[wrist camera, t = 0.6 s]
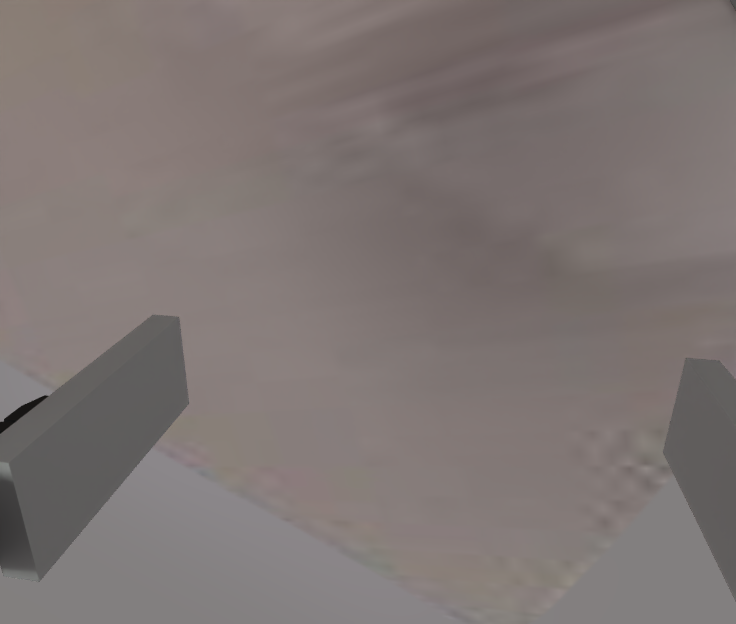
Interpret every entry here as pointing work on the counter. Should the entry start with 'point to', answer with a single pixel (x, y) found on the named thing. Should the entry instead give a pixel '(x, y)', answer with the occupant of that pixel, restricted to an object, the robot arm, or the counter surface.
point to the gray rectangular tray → (733, 3)
